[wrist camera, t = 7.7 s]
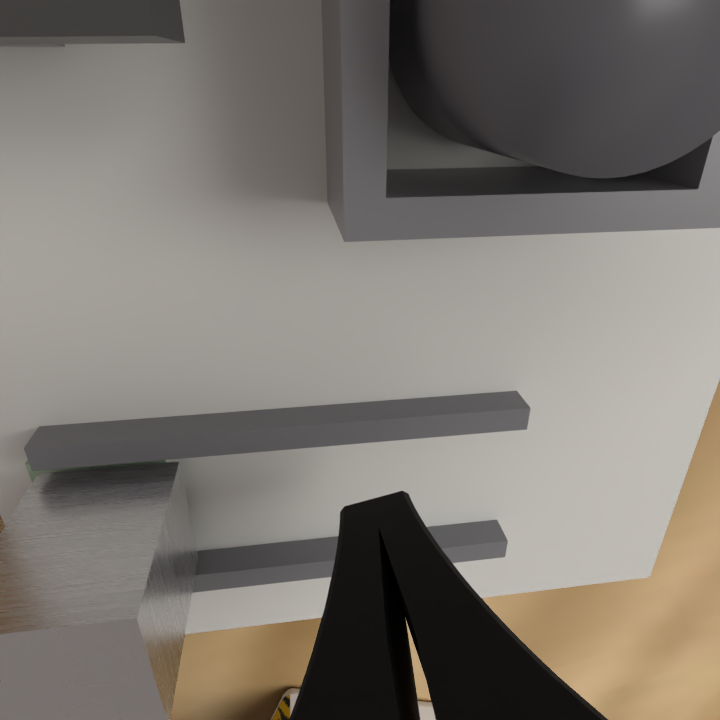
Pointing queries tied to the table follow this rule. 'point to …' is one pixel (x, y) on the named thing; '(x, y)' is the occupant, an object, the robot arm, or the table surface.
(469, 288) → the panel
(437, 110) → the push button
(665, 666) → the table surface
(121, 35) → the rocker
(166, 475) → the slider knob
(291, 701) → the medicine bottle
